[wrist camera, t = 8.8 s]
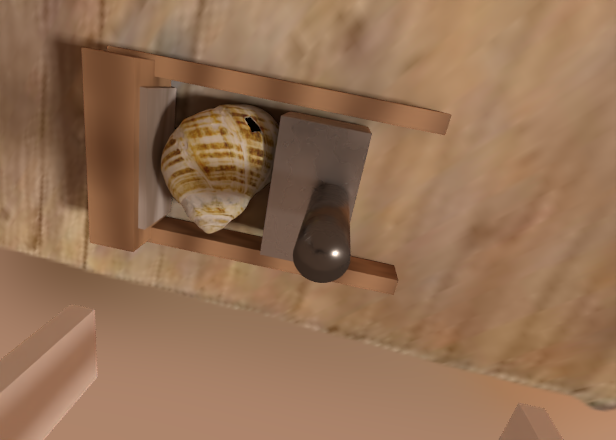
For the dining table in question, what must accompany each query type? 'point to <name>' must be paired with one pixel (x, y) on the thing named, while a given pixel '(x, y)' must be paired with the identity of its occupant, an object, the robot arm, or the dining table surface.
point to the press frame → (155, 133)
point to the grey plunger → (314, 194)
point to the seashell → (219, 162)
